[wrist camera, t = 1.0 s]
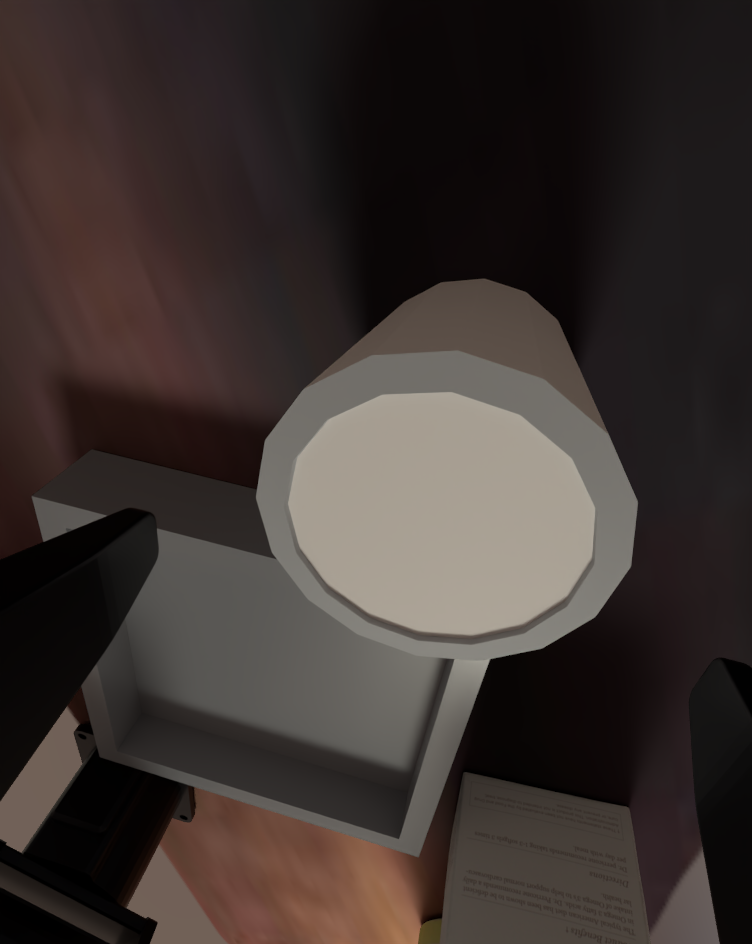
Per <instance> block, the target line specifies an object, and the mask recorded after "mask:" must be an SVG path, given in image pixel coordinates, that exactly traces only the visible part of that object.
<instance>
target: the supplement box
mask: <svg viewBox="0 0 752 944" xmlns="http://www.w3.org/2000/svg"><path fill="white" fill-rule="evenodd" d="M440 944H651V943H650V936H649V929H648V923H647V916H646V909H645V903H644V896H643V890H642V884H641V879H640V873H639V867H638V860H637V853H636V847H635V840H634V833H633V828H632V822H631V816H630V810H629V808H628V807H626V806H620V805H615V804H610V803H605V802H600V801H596V800H591V799H586V798H582V797H577V796H573V795H568V794H563V793H558V792H554V791H549V790H545V789H540V788H536V787H531V786H527V785H522V784H518V783H513V782H509V781H504V780H500V779H495V778H491V777H486V776H482V775H477V774H473V773H468V772H464V773H463V777H462V782H461V787H460V793H459V798H458V803H457V808H456V813H455V818H454V823H453V829H452V835H451V842H450V850H449V858H448V867H447V875H446V884H445V894H444V905H443V915H442V925H441V934H440Z"/></svg>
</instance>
